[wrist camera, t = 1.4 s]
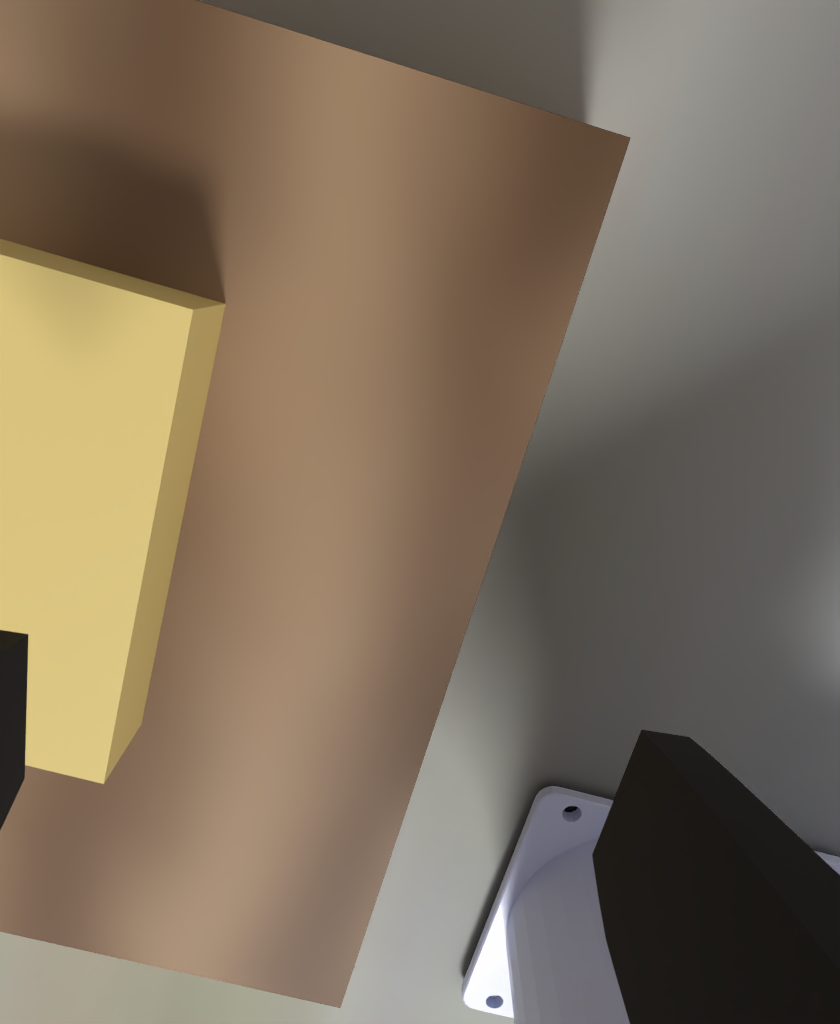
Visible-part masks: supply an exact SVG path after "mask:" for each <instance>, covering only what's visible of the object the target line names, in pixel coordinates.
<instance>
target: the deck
mask: <svg viewBox="0 0 840 1024" xmlns="http://www.w3.org/2000/svg"><path fill="white" fill-rule="evenodd" d="M629 141H630V137H626V136H623V135H620V134H617V133H614V132H611V131H607V130H604V129H601V128H598V127H595V126H592V125H588V124H585V123H582V122H579V121H576V120H573V119H569V118H566V117H563V116H560V115H557V114H554V113H551V112H547V111H544V110H541V109H538V108H535V107H532V106H528V105H525V104H522V103H519V102H516V101H513V100H509V99H506V98H503V97H500V96H497V95H494V94H490V93H487V92H484V91H481V90H478V89H475V88H472V87H468V86H465V85H462V84H459V83H456V82H453V81H449V80H446V79H443V78H440V77H437V76H434V75H430V74H427V73H424V72H421V71H418V70H415V69H412V68H408V67H405V66H402V65H399V64H396V63H393V62H389V61H386V60H383V59H380V58H377V57H374V56H370V55H367V54H364V53H361V52H358V51H355V50H351V49H348V48H345V47H342V46H339V45H336V44H333V43H329V42H326V41H323V40H320V39H317V38H314V37H310V36H307V35H304V34H301V33H298V32H295V31H291V30H288V29H285V28H282V27H279V26H276V25H272V24H269V23H266V22H263V21H260V20H257V19H254V18H250V17H247V16H244V15H241V14H238V13H235V12H231V11H228V10H225V9H222V8H219V7H216V6H212V5H209V4H206V3H203V2H200V1H197V0H0V239H3V240H6V241H10V242H13V243H17V244H20V245H24V246H27V247H31V248H34V249H38V250H41V251H44V252H48V253H51V254H55V255H58V256H62V257H65V258H69V259H72V260H76V261H79V262H83V263H86V264H89V265H93V266H96V267H100V268H103V269H107V270H110V271H114V272H117V273H121V274H124V275H128V276H131V277H134V278H138V279H141V280H145V281H148V282H152V283H155V284H159V285H162V286H166V287H169V288H173V289H176V290H179V291H183V292H186V293H190V294H193V295H197V296H200V297H204V298H207V299H211V300H214V301H218V302H221V303H224V304H226V305H225V310H224V315H223V320H222V325H221V330H220V335H219V340H218V345H217V350H216V355H215V360H214V365H213V370H212V374H211V379H210V384H209V389H208V394H207V399H206V404H205V409H204V414H203V419H202V424H201V429H200V434H199V439H198V444H197V449H196V454H195V459H194V464H193V469H192V474H191V479H190V484H189V489H188V494H187V499H186V504H185V509H184V514H183V519H182V524H181V529H180V534H179V539H178V544H177V549H176V554H175V559H174V564H173V569H172V574H171V579H170V584H169V589H168V594H167V599H166V604H165V609H164V614H163V619H162V624H161V629H160V634H159V639H158V644H157V649H156V654H155V659H154V664H153V669H152V674H151V679H150V684H149V689H148V694H147V699H146V704H145V709H144V714H143V719H142V724H141V726H140V727H139V729H138V730H137V732H136V734H135V735H134V737H133V738H132V740H131V742H130V743H129V745H128V746H127V748H126V749H125V751H124V753H123V754H122V756H121V757H120V759H119V761H118V762H117V764H116V765H115V767H114V769H113V770H112V772H111V773H110V775H109V776H108V778H107V780H106V781H105V783H104V784H102V783H97V782H93V781H89V780H85V779H81V778H77V777H72V776H68V775H64V774H60V773H56V772H52V771H48V770H43V769H39V768H35V767H31V766H27V765H25V779H24V781H23V783H22V785H21V787H20V790H19V792H18V794H17V796H16V798H15V800H14V802H13V805H12V807H11V809H10V811H9V813H8V815H7V818H6V820H5V822H4V824H3V826H2V828H1V830H0V931H1V932H5V933H9V934H14V935H18V936H23V937H27V938H32V939H36V940H40V941H45V942H49V943H54V944H58V945H63V946H67V947H72V948H76V949H80V950H85V951H89V952H94V953H98V954H103V955H107V956H112V957H116V958H120V959H125V960H129V961H134V962H138V963H143V964H147V965H152V966H156V967H160V968H165V969H169V970H174V971H178V972H183V973H187V974H192V975H196V976H200V977H205V978H209V979H214V980H218V981H223V982H227V983H231V984H236V985H240V986H245V987H249V988H254V989H258V990H263V991H267V992H271V993H276V994H280V995H285V996H289V997H294V998H298V999H303V1000H307V1001H311V1002H316V1003H320V1004H325V1005H329V1006H334V1007H338V1008H340V1007H341V1004H342V1001H343V998H344V995H345V992H346V989H347V986H348V983H349V980H350V977H351V974H352V971H353V968H354V965H355V962H356V959H357V956H358V953H359V950H360V947H361V944H362V941H363V938H364V935H365V932H366V929H367V926H368V923H369V920H370V917H371V914H372V911H373V908H374V905H375V902H376V899H377V896H378V893H379V890H380V887H381V884H382V881H383V878H384V875H385V872H386V869H387V866H388V863H389V860H390V857H391V854H392V851H393V848H394V845H395V842H396V839H397V836H398V833H399V830H400V827H401V824H402V821H403V818H404V815H405V812H406V809H407V806H408V803H409V800H410V797H411V794H412V791H413V789H414V786H415V783H416V780H417V777H418V774H419V771H420V768H421V765H422V762H423V759H424V756H425V753H426V750H427V747H428V744H429V741H430V738H431V735H432V732H433V729H434V726H435V723H436V720H437V717H438V714H439V711H440V708H441V705H442V702H443V699H444V696H445V693H446V690H447V687H448V684H449V681H450V678H451V675H452V672H453V669H454V666H455V663H456V660H457V657H458V654H459V651H460V648H461V645H462V642H463V639H464V636H465V633H466V630H467V627H468V624H469V621H470V618H471V615H472V612H473V609H474V606H475V603H476V600H477V597H478V594H479V591H480V588H481V585H482V582H483V579H484V576H485V573H486V570H487V567H488V564H489V561H490V558H491V555H492V552H493V549H494V546H495V543H496V540H497V537H498V534H499V531H500V528H501V525H502V522H503V519H504V516H505V513H506V510H507V507H508V504H509V501H510V498H511V495H512V492H513V489H514V486H515V483H516V480H517V477H518V474H519V471H520V468H521V465H522V462H523V459H524V456H525V453H526V450H527V447H528V444H529V441H530V438H531V435H532V432H533V429H534V426H535V423H536V420H537V417H538V414H539V411H540V408H541V405H542V402H543V399H544V396H545V393H546V390H547V387H548V384H549V381H550V378H551V375H552V372H553V369H554V366H555V363H556V360H557V357H558V354H559V351H560V348H561V345H562V342H563V339H564V336H565V333H566V330H567V327H568V324H569V321H570V318H571V315H572V312H573V309H574V306H575V303H576V300H577V297H578V294H579V291H580V288H581V285H582V282H583V279H584V276H585V273H586V270H587V267H588V264H589V261H590V258H591V255H592V252H593V249H594V246H595V243H596V240H597V237H598V234H599V231H600V228H601V225H602V222H603V219H604V216H605V213H606V210H607V207H608V204H609V201H610V198H611V195H612V192H613V189H614V186H615V183H616V180H617V177H618V174H619V171H620V168H621V165H622V162H623V159H624V156H625V153H626V150H627V147H628V144H629Z"/></svg>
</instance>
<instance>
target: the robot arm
mask: <svg viewBox="0 0 840 1024" xmlns="http://www.w3.org/2000/svg"><path fill="white" fill-rule="evenodd" d="M27 672H28V634H24V633H17V632H11V631H4V630H0V830H1V828H2V826H3V824H4V822H5V820H6V818H7V815H8V813H9V811H10V809H11V807H12V805H13V802H14V800H15V798H16V796H17V794H18V792H19V790H20V787H21V785H22V783H23V781H24V779H25V749H26V710H27ZM569 806H576V807H578V808H577V809H576V810H575V811H573V812H565V811H563V810H564V809H565V808H567V807H569ZM461 990H462V999H463V1002H464V1003H465V1004H466V1005H467V1006H468V1007H470V1008H473V1009H476V1010H481V1011H485V1012H490V1013H494V1014H498V1015H503V1016H507V1017H511V1018H514V1023H515V1024H840V857H837V856H833V855H829V854H825V853H821V852H817V851H813V850H812V849H811V848H810V847H809V846H808V845H807V844H806V843H805V842H804V841H803V840H801V839H800V838H799V837H798V836H797V835H796V834H795V833H794V832H793V831H792V830H791V829H790V828H789V827H788V826H787V825H785V824H784V823H783V822H782V821H781V820H780V819H779V818H778V817H777V816H776V815H775V814H774V813H773V812H772V811H771V810H770V809H768V808H767V807H766V806H765V805H764V804H763V803H762V802H761V801H760V800H759V799H758V798H757V797H756V796H755V795H754V794H753V793H751V792H750V791H749V790H748V789H747V788H746V787H745V786H744V785H743V784H742V783H741V782H740V781H739V780H737V779H736V778H735V777H734V776H733V775H732V774H731V773H730V772H729V771H728V770H727V769H726V768H724V767H723V766H722V765H721V764H720V763H719V762H718V761H717V760H716V759H714V758H713V757H712V756H711V755H710V754H709V753H708V752H706V751H705V750H704V749H703V748H702V747H700V746H699V745H698V744H697V743H695V742H694V741H693V740H692V739H691V738H689V737H685V736H678V735H672V734H665V733H659V732H653V731H646V730H641V733H640V735H639V738H638V740H637V743H636V745H635V748H634V750H633V753H632V755H631V758H630V760H629V763H628V765H627V768H626V771H625V773H624V776H623V778H622V781H621V783H620V786H619V788H618V791H617V793H616V796H615V798H614V800H610V799H606V798H602V797H598V796H594V795H590V794H586V793H582V792H578V791H574V790H570V789H566V788H562V787H558V786H549V787H546V788H543V789H542V790H541V791H539V792H538V794H537V795H536V797H535V799H534V802H533V804H532V807H531V809H530V812H529V815H528V817H527V820H526V822H525V825H524V827H523V830H522V832H521V835H520V837H519V840H518V843H517V845H516V848H515V850H514V853H513V855H512V858H511V860H510V863H509V866H508V868H507V871H506V873H505V876H504V878H503V881H502V883H501V886H500V889H499V891H498V894H497V896H496V899H495V901H494V904H493V906H492V909H491V911H490V914H489V917H488V919H487V922H486V924H485V927H484V929H483V932H482V934H481V937H480V940H479V942H478V945H477V947H476V950H475V952H474V955H473V957H472V960H471V962H470V965H469V968H468V970H467V973H466V975H465V978H464V980H463V983H462V989H461ZM491 995H498V996H491Z"/></svg>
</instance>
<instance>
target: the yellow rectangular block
mask: <svg viewBox="0 0 840 1024" xmlns="http://www.w3.org/2000/svg"><path fill="white" fill-rule="evenodd" d="M225 305H226V304H224V303H221V302H218V301H214V300H211V299H207V298H204V297H200V296H197V295H193V294H190V293H186V292H183V291H179V290H176V289H173V288H169V287H166V286H162V285H159V284H155V283H152V282H148V281H145V280H141V279H138V278H134V277H131V276H128V275H124V274H121V273H117V272H114V271H110V270H107V269H103V268H100V267H96V266H93V265H89V264H86V263H83V262H79V261H76V260H72V259H69V258H65V257H62V256H58V255H55V254H51V253H48V252H44V251H41V250H38V249H34V248H31V247H27V246H24V245H20V244H17V243H13V242H10V241H6V240H3V239H0V630H4V631H11V632H17V633H24V634H28V672H27V710H26V749H25V765H27V766H31V767H35V768H39V769H43V770H48V771H52V772H56V773H60V774H64V775H68V776H72V777H77V778H81V779H85V780H89V781H93V782H97V783H102V784H104V783H105V781H106V780H107V778H108V776H109V775H110V773H111V772H112V770H113V769H114V767H115V765H116V764H117V762H118V761H119V759H120V757H121V756H122V754H123V753H124V751H125V749H126V748H127V746H128V745H129V743H130V742H131V740H132V738H133V737H134V735H135V734H136V732H137V730H138V729H139V727H140V726H141V724H142V719H143V714H144V709H145V704H146V699H147V694H148V689H149V684H150V679H151V674H152V669H153V664H154V659H155V654H156V649H157V644H158V639H159V634H160V629H161V624H162V619H163V614H164V609H165V604H166V599H167V594H168V589H169V584H170V579H171V574H172V569H173V564H174V559H175V554H176V549H177V544H178V539H179V534H180V529H181V524H182V519H183V514H184V509H185V504H186V499H187V494H188V489H189V484H190V479H191V474H192V469H193V464H194V459H195V454H196V449H197V444H198V439H199V434H200V429H201V424H202V419H203V414H204V409H205V404H206V399H207V394H208V389H209V384H210V379H211V374H212V370H213V365H214V360H215V355H216V350H217V345H218V340H219V335H220V330H221V325H222V320H223V315H224V310H225Z"/></svg>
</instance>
